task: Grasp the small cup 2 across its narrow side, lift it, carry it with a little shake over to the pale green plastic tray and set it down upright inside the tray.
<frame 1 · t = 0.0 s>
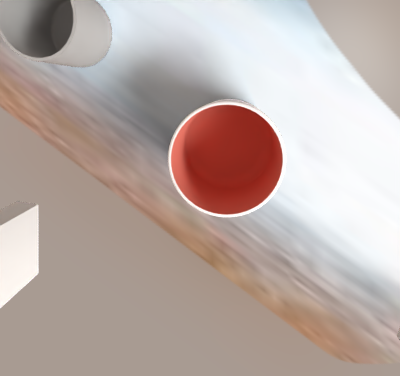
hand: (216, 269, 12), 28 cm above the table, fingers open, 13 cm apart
cup: (228, 144, 39), on the table
cup 2: (86, 20, 37), on the table
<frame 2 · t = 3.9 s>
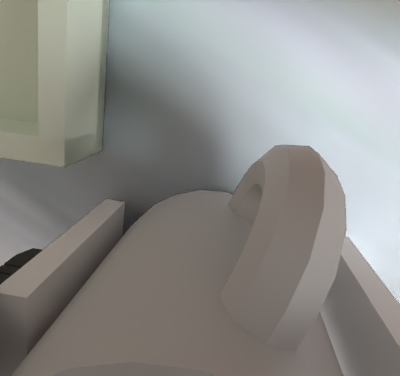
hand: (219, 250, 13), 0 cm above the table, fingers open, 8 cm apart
cup 2: (223, 241, 14), on the table, touching gripper
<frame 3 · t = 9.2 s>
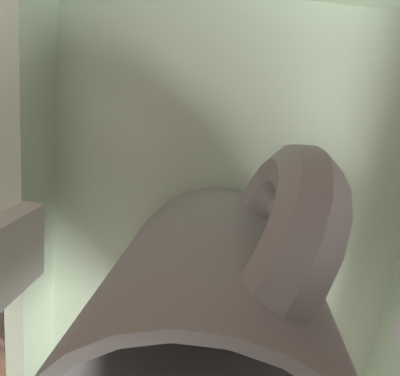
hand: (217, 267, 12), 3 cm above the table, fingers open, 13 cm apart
tray: (221, 233, 15), on the table
cup 2: (233, 236, 15), resting on tray
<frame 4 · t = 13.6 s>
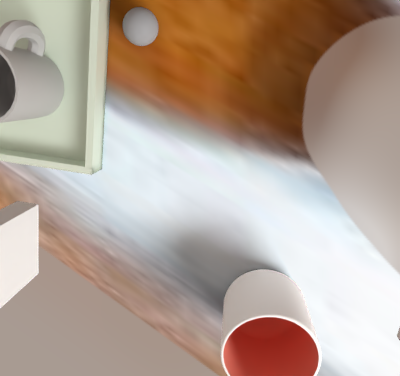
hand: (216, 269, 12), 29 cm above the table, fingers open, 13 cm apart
tray: (38, 73, 40), on the table
cup: (263, 299, 45), on the table
mixing ball: (140, 26, 35), point 2 cm above the table
cup 2: (40, 73, 39), resting on tray
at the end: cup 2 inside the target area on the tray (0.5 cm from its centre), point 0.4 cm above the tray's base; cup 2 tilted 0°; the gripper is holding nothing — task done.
